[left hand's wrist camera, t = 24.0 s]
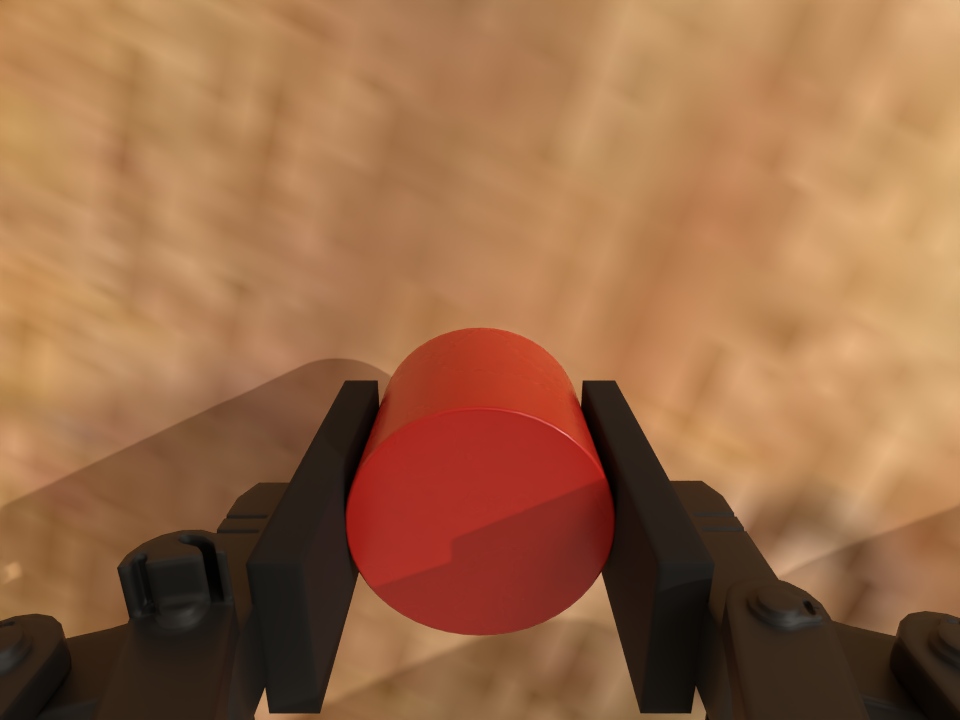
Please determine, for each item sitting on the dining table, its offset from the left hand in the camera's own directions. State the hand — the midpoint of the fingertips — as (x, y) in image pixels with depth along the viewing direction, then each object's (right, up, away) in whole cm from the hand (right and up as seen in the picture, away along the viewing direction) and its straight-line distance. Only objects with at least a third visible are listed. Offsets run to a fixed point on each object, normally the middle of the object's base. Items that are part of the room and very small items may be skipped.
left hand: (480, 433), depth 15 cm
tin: (0, 0, 0) cm, 0 cm away
